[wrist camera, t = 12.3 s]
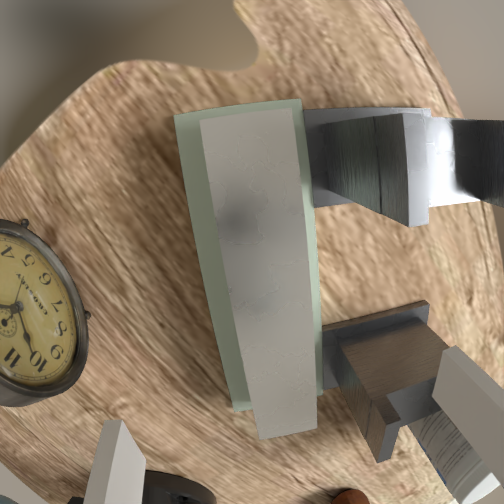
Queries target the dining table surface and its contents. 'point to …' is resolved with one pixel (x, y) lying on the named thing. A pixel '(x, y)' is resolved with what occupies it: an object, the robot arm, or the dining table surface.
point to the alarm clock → (37, 320)
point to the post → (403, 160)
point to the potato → (351, 497)
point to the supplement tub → (453, 458)
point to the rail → (265, 262)
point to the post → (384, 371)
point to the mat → (210, 244)
